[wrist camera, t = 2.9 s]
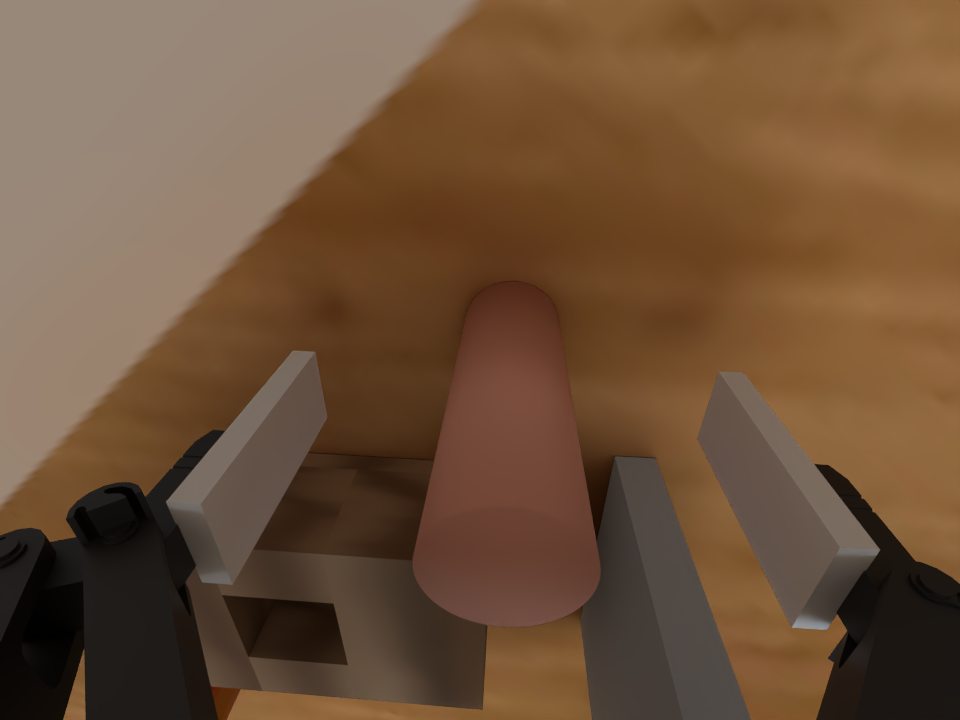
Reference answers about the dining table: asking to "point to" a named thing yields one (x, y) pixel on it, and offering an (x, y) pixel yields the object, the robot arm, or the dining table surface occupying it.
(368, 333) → the dining table surface
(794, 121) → the dining table surface
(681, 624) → the pale blue angle bracket
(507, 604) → the peg
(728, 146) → the dining table surface
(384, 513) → the socket block
